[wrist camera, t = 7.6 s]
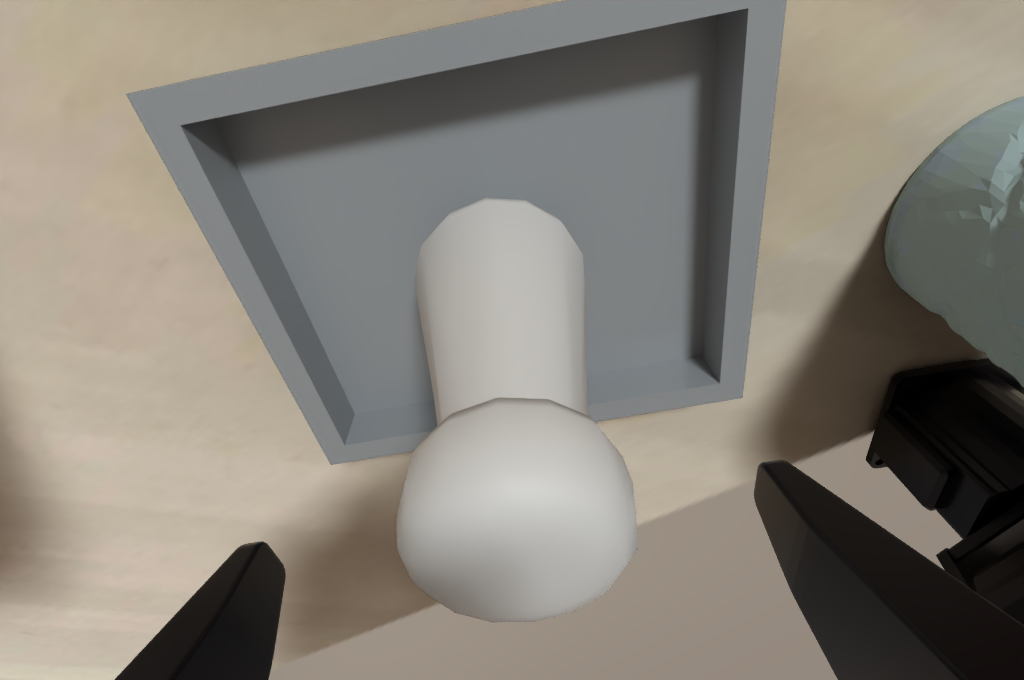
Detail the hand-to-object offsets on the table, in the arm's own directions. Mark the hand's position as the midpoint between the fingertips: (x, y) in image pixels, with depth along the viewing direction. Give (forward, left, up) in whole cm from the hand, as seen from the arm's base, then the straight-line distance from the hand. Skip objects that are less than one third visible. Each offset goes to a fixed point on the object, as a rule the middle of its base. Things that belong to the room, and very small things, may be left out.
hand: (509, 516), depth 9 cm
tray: (0, 0, -13) cm, 13 cm away
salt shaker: (0, 0, -12) cm, 12 cm away
